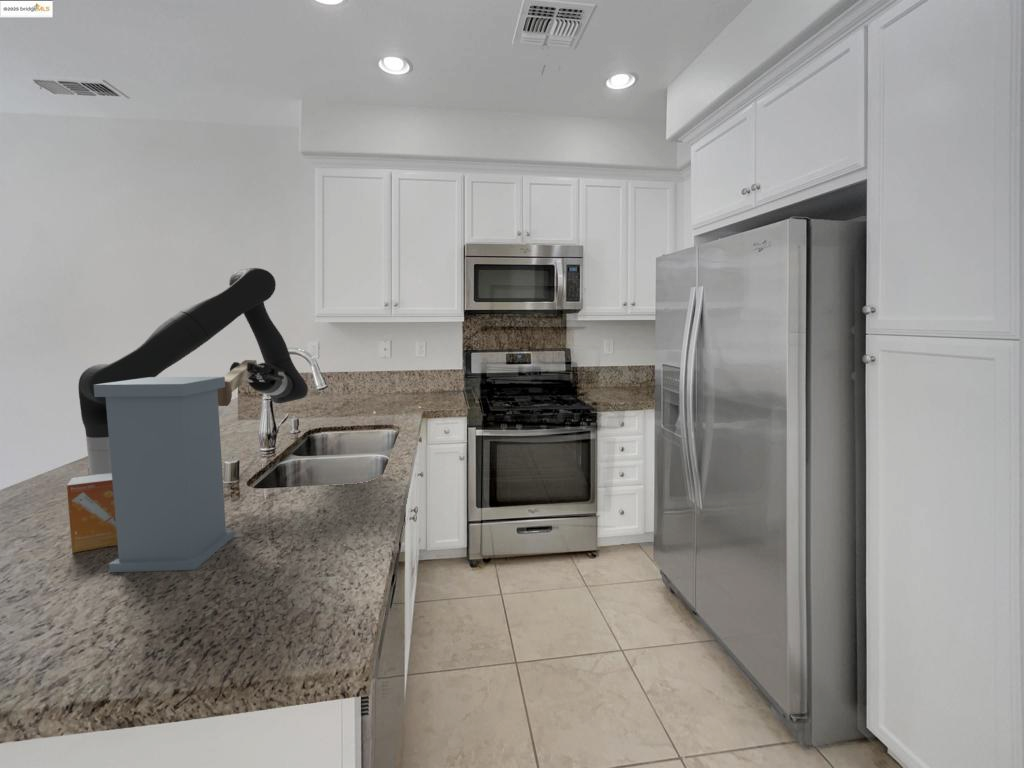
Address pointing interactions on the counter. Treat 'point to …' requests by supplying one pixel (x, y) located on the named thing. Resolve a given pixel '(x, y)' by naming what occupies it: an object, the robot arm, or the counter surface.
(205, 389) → the stand
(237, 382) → the mallet
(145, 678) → the counter surface
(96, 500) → the small box
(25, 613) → the counter surface
